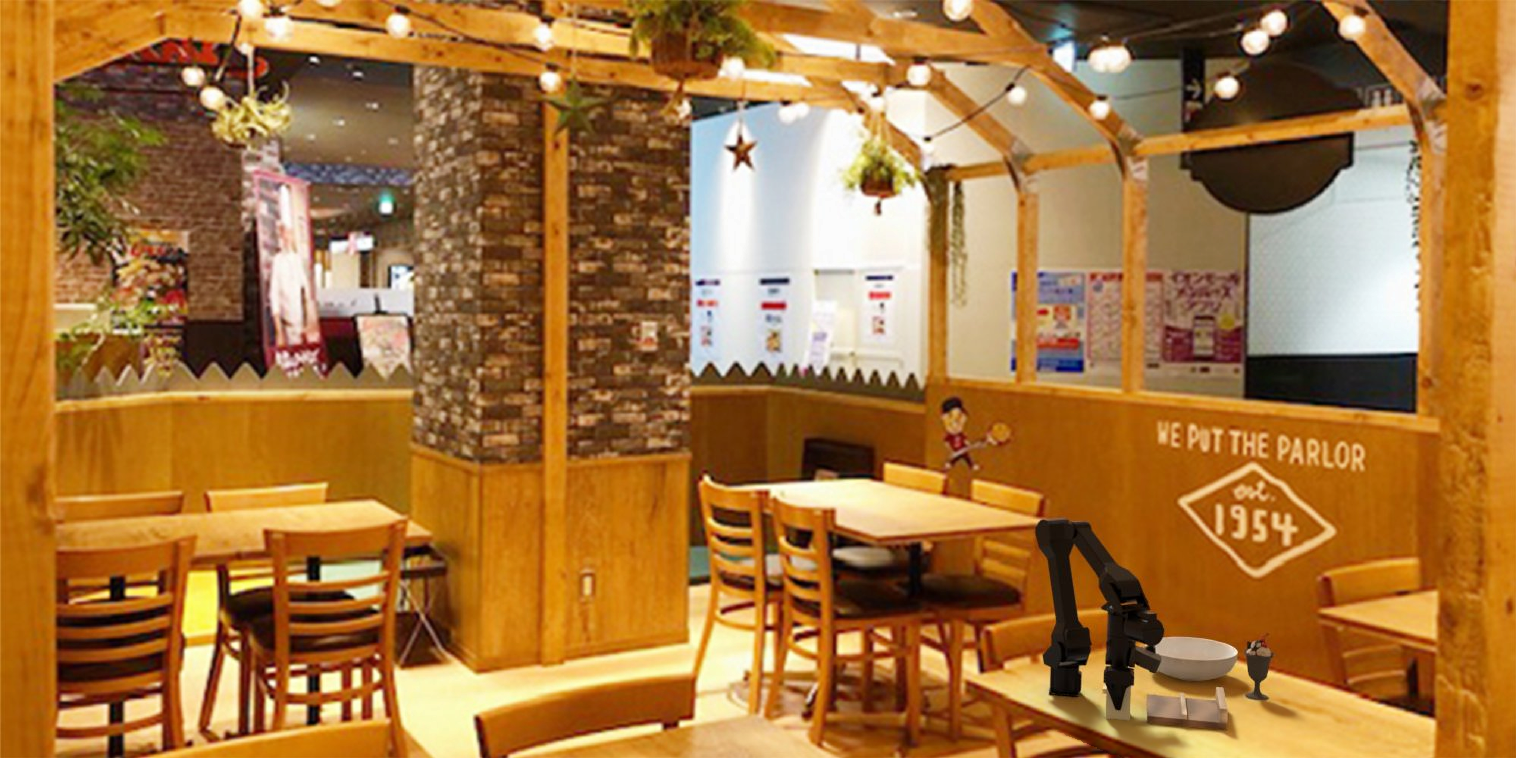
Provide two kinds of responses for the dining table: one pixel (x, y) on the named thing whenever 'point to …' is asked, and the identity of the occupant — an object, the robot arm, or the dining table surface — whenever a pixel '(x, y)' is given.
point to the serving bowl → (1195, 658)
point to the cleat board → (1188, 711)
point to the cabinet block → (1125, 709)
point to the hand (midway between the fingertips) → (1118, 706)
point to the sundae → (1258, 665)
